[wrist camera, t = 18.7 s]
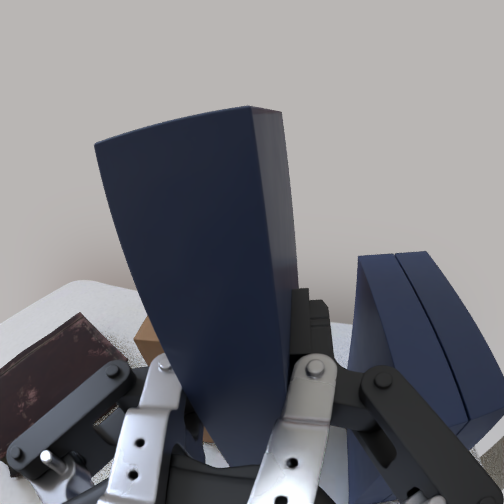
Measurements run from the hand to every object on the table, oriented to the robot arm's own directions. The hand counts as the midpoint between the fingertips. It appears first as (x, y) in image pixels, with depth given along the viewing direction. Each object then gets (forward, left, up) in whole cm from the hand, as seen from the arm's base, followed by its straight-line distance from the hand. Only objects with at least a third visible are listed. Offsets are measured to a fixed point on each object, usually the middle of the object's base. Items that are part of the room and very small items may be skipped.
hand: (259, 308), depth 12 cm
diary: (+32, -2, -20) cm, 38 cm away
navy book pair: (-9, -2, -20) cm, 22 cm away
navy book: (0, -2, -9) cm, 10 cm away
